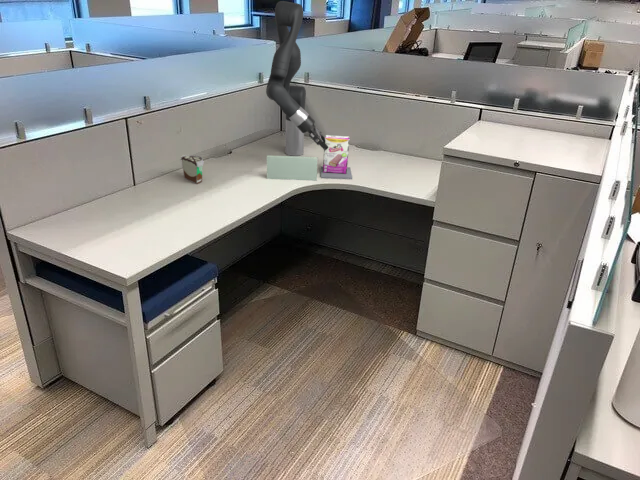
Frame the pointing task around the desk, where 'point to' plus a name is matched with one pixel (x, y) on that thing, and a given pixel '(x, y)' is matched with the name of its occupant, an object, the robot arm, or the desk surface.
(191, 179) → the food container
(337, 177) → the mat
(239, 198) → the desk surface
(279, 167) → the screen
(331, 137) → the candy bar box
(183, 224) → the desk surface
